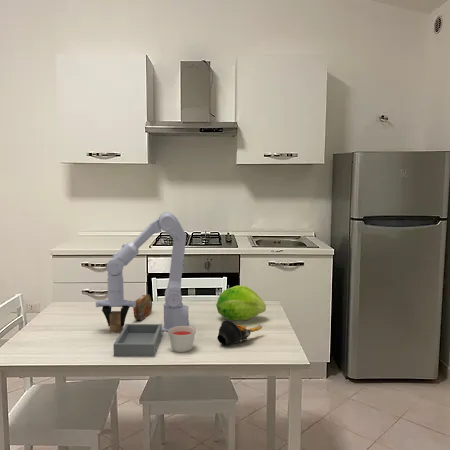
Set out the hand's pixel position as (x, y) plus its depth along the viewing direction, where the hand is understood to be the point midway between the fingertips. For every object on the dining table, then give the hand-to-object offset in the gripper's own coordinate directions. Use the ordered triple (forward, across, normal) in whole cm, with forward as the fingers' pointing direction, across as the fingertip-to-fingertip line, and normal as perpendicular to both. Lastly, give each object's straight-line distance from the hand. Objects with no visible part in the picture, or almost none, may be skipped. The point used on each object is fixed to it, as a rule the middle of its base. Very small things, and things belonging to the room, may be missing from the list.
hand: (116, 325), depth 176 cm
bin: (+2, -11, +14) cm, 18 cm away
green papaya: (+2, -47, -14) cm, 49 cm away
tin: (+2, -7, -17) cm, 19 cm away
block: (+2, 0, 0) cm, 2 cm away
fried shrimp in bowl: (+2, -46, +10) cm, 47 cm away
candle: (+2, -26, +17) cm, 31 cm away
